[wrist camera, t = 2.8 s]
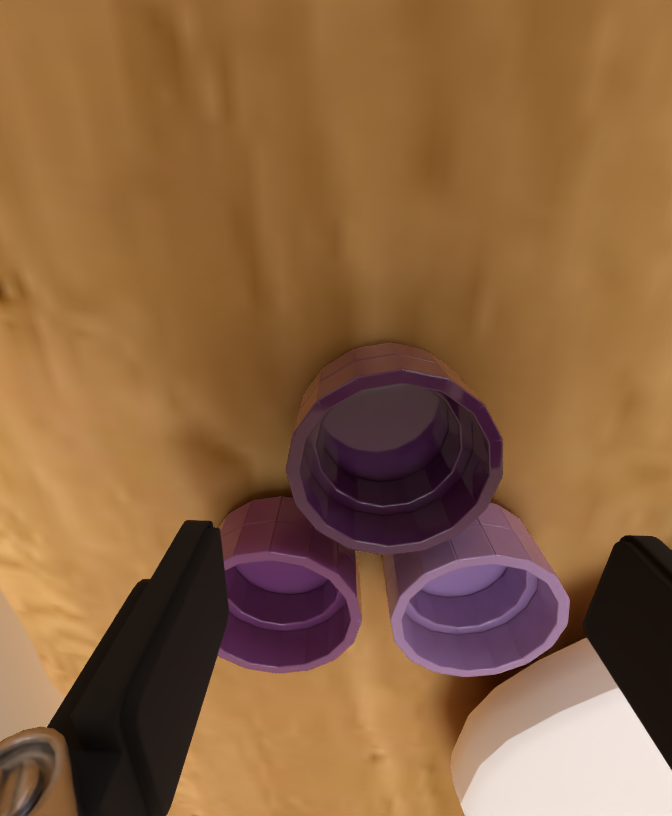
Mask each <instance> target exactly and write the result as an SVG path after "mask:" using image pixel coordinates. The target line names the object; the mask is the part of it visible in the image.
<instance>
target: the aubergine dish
mask: <svg viewBox="0 0 672 816" xmlns="http://www.w3.org/2000/svg"><path fill="white" fill-rule="evenodd" d="M286 473H287V477H288V480H289V484H290V488H291V491H292V495H293V499H294V502H295V504H296V506H297V507H298V508H299V509H300V511H301V512H302V513H303V514H304V515H305V517H306V518H307V519H308V520H309V521H310V523H311V524H312V525H313V526H314V527H315V529H316V530H317V531H319V532H320V533H322V534H324V535H326V536H327V537H329V538H331V539H333V540H335V541H337V542H338V543H340V544H342V545H344V546H346V547H347V548H350V549H354V550H360V551H366V552H371V553H377V554H382V555H386V554H387V555H392V554H400V553H408V552H416V551H423V550H427V549H429V548H431V547H433V546H436V545H438V544H440V543H442V542H445V541H447V540H449V539H451V538H453V537H456V536H458V535H459V534H461V533H462V532H463V531H464V530H465V529H466V528H467V527H468V526H469V525H470V524H471V523H472V522H474V521H475V520H476V519H477V518H478V517H479V516H480V515H481V514H482V513H483V512H484V511H485V510H486V508H488V506H489V504H490V502H491V500H492V497H493V495H494V493H495V491H496V489H497V487H498V485H499V483H500V481H501V478H502V475H503V439H502V436H501V434H500V432H499V430H498V428H497V426H496V424H495V422H494V421H493V419H492V417H491V415H490V413H489V411H488V409H487V407H486V405H485V404H484V403H483V402H482V401H481V400H480V398H479V397H478V396H477V395H476V394H475V393H474V392H473V391H472V390H471V388H470V387H469V386H468V385H467V384H466V383H465V382H464V381H463V380H462V378H461V377H460V376H459V375H458V374H457V373H456V372H455V371H454V369H452V368H451V367H449V366H448V365H447V364H445V363H444V362H443V361H441V360H440V359H438V358H437V357H436V356H434V355H433V354H432V353H430V352H429V351H426V350H425V349H421V348H416V347H412V346H407V345H403V344H398V343H394V342H391V343H390V342H387V343H381V344H376V345H370V346H364V347H358V348H354V350H350V351H349V352H347V353H345V354H344V355H342V356H341V357H339V358H337V359H336V360H334V361H332V362H331V363H329V364H328V365H326V366H324V368H322V369H321V370H320V372H319V373H318V374H317V376H316V377H315V379H314V380H313V381H312V383H311V384H310V386H309V387H308V388H307V390H306V391H305V393H304V394H303V397H302V400H301V404H300V408H299V411H298V415H297V419H296V423H295V427H294V430H293V434H292V439H291V444H290V450H289V455H288V460H287V465H286Z"/></svg>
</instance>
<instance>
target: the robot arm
mask: <svg viewBox="0 0 672 816" xmlns="http://www.w3.org/2000/svg"><path fill="white" fill-rule="evenodd" d="M228 616H229V605H228V596H227V587H226V577H225V568H224V559H223V550H222V541H221V532H220V529H219V528H213V524H212V522H211V521H196V520H187V521H185V522H184V523H183V525H182V526H181V528H180V530H179V531H178V533H177V535H176V537H175V538H174V540H173V542H172V543H171V545H170V547H169V549H168V550H167V552H166V554H165V555H164V557H163V559H162V560H161V562H160V564H159V566H158V567H157V569H156V571H155V572H154V574H153V576H152V578H151V579H142V580H141V581H140V582H138V583H137V584H136V586H135V587H134V588H133V590H132V591H131V593H130V594H129V596H128V598H127V599H126V601H125V603H124V604H123V606H122V607H121V609H120V611H119V612H118V614H117V615H116V617H115V619H114V620H113V622H112V623H111V625H110V627H109V628H108V630H107V631H106V633H105V635H104V636H103V638H102V640H101V641H100V643H99V644H98V646H97V648H96V649H95V651H94V652H93V654H92V656H91V657H90V659H89V660H88V662H87V664H86V665H85V667H84V668H83V670H82V672H81V673H80V675H79V676H78V678H77V680H76V681H75V683H74V685H73V686H72V688H71V689H70V691H69V693H68V694H67V696H66V697H65V699H64V701H63V702H62V704H61V705H60V707H59V709H58V710H57V712H56V714H55V715H54V717H53V718H52V720H51V722H50V724H49V725H48V726H47V728H45V727H37V728H32V729H27V730H23V731H21V732H19V733H16V734H14V735H12V736H10V737H8V738H5V739H4V740H2V741H1V742H0V816H166V815H167V813H168V811H169V809H170V807H171V804H172V801H173V798H174V795H175V791H176V788H177V785H178V782H179V778H180V775H181V772H182V769H183V766H184V762H185V759H186V756H187V753H188V749H189V746H190V743H191V740H192V736H193V733H194V730H195V727H196V723H197V720H198V717H199V714H200V710H201V707H202V704H203V701H204V697H205V694H206V691H207V688H208V684H209V681H210V678H211V675H212V672H213V668H214V665H215V662H216V659H217V655H218V652H219V649H220V646H221V642H222V639H223V636H224V633H225V629H226V626H227V622H228ZM583 627H584V632H585V635H586V637H587V639H588V640H589V642H590V643H591V645H592V647H593V648H594V650H595V651H596V653H597V654H598V656H599V657H600V659H601V661H602V662H603V664H604V665H605V667H606V668H607V670H608V672H609V673H610V675H611V676H612V678H613V679H614V681H615V683H616V684H617V686H618V687H619V689H620V690H621V692H622V693H623V695H624V697H625V698H626V700H627V701H628V703H629V704H630V706H631V708H632V709H633V711H634V712H635V714H636V715H637V717H638V719H639V720H640V722H641V723H642V725H643V726H644V728H645V730H646V731H647V733H648V734H649V736H650V737H651V739H652V740H653V742H654V744H655V745H656V747H657V748H658V750H659V751H660V753H661V755H662V756H663V758H664V759H665V761H666V762H667V764H668V766H669V767H670V769H671V770H672V550H671V549H669V548H668V547H667V546H666V545H665V544H664V543H663V542H662V541H660V540H659V539H657V538H656V537H652V536H632V535H628V536H624V537H622V538H621V539H620V541H619V542H617V543H615V545H614V547H613V549H612V552H611V554H610V556H609V559H608V561H607V564H606V566H605V569H604V571H603V574H602V576H601V579H600V581H599V584H598V586H597V589H596V591H595V594H594V596H593V599H592V601H591V604H590V606H589V609H588V611H587V614H586V616H585V618H584V622H583Z"/></svg>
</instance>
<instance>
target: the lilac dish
mask: <svg viewBox="0 0 672 816" xmlns="http://www.w3.org/2000/svg"><path fill="white" fill-rule="evenodd" d="M382 559H383V567H384V575H385V582H386V590H387V598H388V606H389V614H390V621H391V627H392V632H393V638H394V641H395V643H396V644H397V646H398V647H399V648H400V649H401V650H402V651H403V653H404V654H405V655H406V656H407V657H408V658H409V660H411V661H412V662H414V663H416V664H418V665H421V666H423V667H425V668H427V669H429V670H431V671H433V672H436V673H441V674H447V675H454V676H460V677H474V676H484V675H495V674H500V673H502V672H505V671H508V670H511V669H514V668H517V667H520V666H523V665H525V664H527V663H529V662H531V661H532V660H534V659H535V658H537V657H538V656H539V655H541V654H542V653H544V652H545V651H547V650H548V649H549V648H551V647H552V646H553V645H554V643H555V642H556V641H557V639H558V638H559V636H560V635H561V633H562V632H563V630H564V629H565V628H566V626H567V624H568V616H569V606H570V599H569V597H568V595H567V593H566V591H565V589H564V587H563V586H562V584H561V582H560V580H559V578H558V577H557V575H556V574H555V572H554V571H553V569H552V567H551V566H550V564H549V563H548V561H547V560H546V558H545V557H544V555H543V554H542V552H541V550H540V549H539V547H538V546H537V544H536V543H535V541H534V540H533V538H532V537H531V535H530V534H529V532H528V530H527V529H526V527H525V526H524V524H523V523H522V521H521V520H520V519H519V518H518V517H516V516H515V515H513V514H512V513H510V512H509V511H507V510H505V509H504V508H502V507H501V506H499V505H497V504H494V503H490V504H489V506H488V508H486V510H485V511H484V512H483V513H482V514H481V515H480V516H479V517H478V518H477V519H476V520H475V521H474V522H472V523H471V524H470V525H469V526H468V527H467V528H466V529H465V530H464V531H463V532H462V533H461V534H459V535H458V536H456V537H453V538H451V539H449V540H447V541H445V542H442V543H440V544H438V545H436V546H433V547H431V548H429V549H427V550H423V551H416V552H408V553H400V554H392V555H387V554H386V555H383V558H382Z"/></svg>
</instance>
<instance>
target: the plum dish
mask: <svg viewBox="0 0 672 816" xmlns="http://www.w3.org/2000/svg"><path fill="white" fill-rule="evenodd" d="M218 528H219V529H220V532H221V541H222V550H223V559H224V568H225V577H226V587H227V596H228V605H229V616H228V622H227V626H226V629H225V633H224V636H223V639H222V642H221V646H220V649H219V652H218V655H217V656H219V657H220V658H223V659H225V660H227V661H230V662H232V663H234V664H237V665H239V666H241V667H244V668H247V669H251V670H258V671H264V672H271V673H289V672H299V671H308V670H311V669H314V668H316V667H319V666H321V665H324V664H326V663H329V662H331V661H334V660H335V659H337V658H338V657H339V656H340V655H341V654H342V653H343V652H344V651H345V650H346V649H348V648H349V647H350V646H351V645H352V644H353V643H354V641H355V638H356V636H357V633H358V630H359V627H360V625H361V622H362V608H361V589H360V573H359V556H358V552H357V550H354V549H350V548H347V547H346V546H344V545H342V544H340V543H338V542H337V541H335V540H333V539H331V538H329V537H327V536H326V535H324V534H322V533H320V532H319V531H317V530H316V529H315V527H314V526H313V525H312V524H311V523H310V521H309V520H308V519H307V518H306V517H305V515H304V514H303V513H302V512H301V511H300V509H299V508H298V507H297V506H296V504H295V502H294V499H293V498H291V497H285V496H283V497H282V496H278V497H271V498H264V499H256V500H253V501H250V502H248V503H247V504H245V505H243V506H241V507H239V508H238V509H236V510H234V511H232V512H230V513H229V514H228V515H227V516H226V517H225V519H224V520H223V521H222V523H221V524H220V526H219V527H218Z"/></svg>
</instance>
